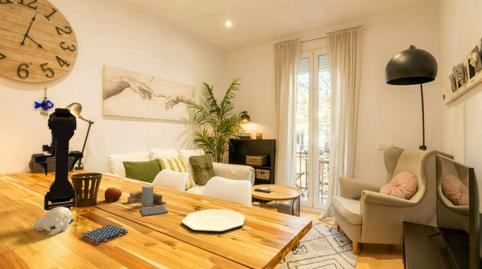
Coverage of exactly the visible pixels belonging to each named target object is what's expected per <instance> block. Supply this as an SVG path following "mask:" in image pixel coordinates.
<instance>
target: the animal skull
mask: <svg viewBox="0 0 482 269" xmlns="http://www.w3.org/2000/svg"><path fill="white" fill-rule="evenodd" d="M72 217H73V214H72V213H71V209H70V210H69V209H68V208H65V207H57V208H53V209H51V210H48V211H46V213H45V214H44V215H43V216H42V217H39V218H37V219H36V220H35V221H34V223H33V226H34V230H35V231H37V232H43V231H46V232H49V234H48V236H51V237H52V236H54V235H56V234H58V233H59V232H60V231H61V230H62V231H63V232H64V231H66V230H67V229H68V227H69V225H70V224H71V223H70V221H71V219H72ZM69 223H70V224H69ZM53 226H55V227H53ZM51 228H55V229H53V230H51Z"/></svg>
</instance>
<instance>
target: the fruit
mask: <svg viewBox="0 0 482 269" xmlns="http://www.w3.org/2000/svg"><path fill="white" fill-rule="evenodd" d="M122 195H123V192H122V190H121V189H120V188H118V187H113V186H112V187H107V188H106V189H105V191H104V201H105V202H109V203H110V204H111V202H117V201H119V200H120V198H121V197H122Z"/></svg>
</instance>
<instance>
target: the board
mask: <svg viewBox="0 0 482 269" xmlns="http://www.w3.org/2000/svg"><path fill="white" fill-rule="evenodd" d="M141 191H142V201H141V205H142V206H144V207H145V208H150V207H154V203H153V193H154V186H151V185H143V186H141Z"/></svg>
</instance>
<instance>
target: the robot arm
mask: <svg viewBox="0 0 482 269" xmlns="http://www.w3.org/2000/svg"><path fill="white" fill-rule="evenodd" d="M77 125H78V124H77V117H76V115H74V114H73V113H72V112H71V109H69V108H63V107H56V108H54V111H53V112H52V113H50V114H49V115H48V118H47V127H48V130H50V135H51V142H50V145H49V144H42V147H41V150H42V152H43V153H42V152H40V153H33V154H31V157H30V159H31V161H32V162H33V163H34V164H38V165H40V167H41V169H42V171H43V173H44V176H46V177H47V176H48V162H47V160H53V159H54V161H55V162H54V180H53V181H52V182H51V183H50V185H49V187H48V188H49V190H48V191H47V192H46V193H45V195H44V197H43V200H44V201H43V211H46V212H49V211H50V210H51V209H53V208H57V207H65V208H68V209H69V210H70V211H71V208H75V207H76V190H75V189H76V188H73V187H74V186H73V184H72V183H71V181H70V180H69V173H71V172H72V170H73V168H74V167H75V165H76V164H77V162H78V161H80V160H81V159H84V153H83V152H81V151H80V150H70V141H71V139H72V138H73V137H74V135H75V131H77ZM44 153H47V154H44ZM74 221H75V219H73V218H71V221H70V223H69V225H70V224H72V223H73V222H74ZM52 228H55V226H53V227H52Z"/></svg>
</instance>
